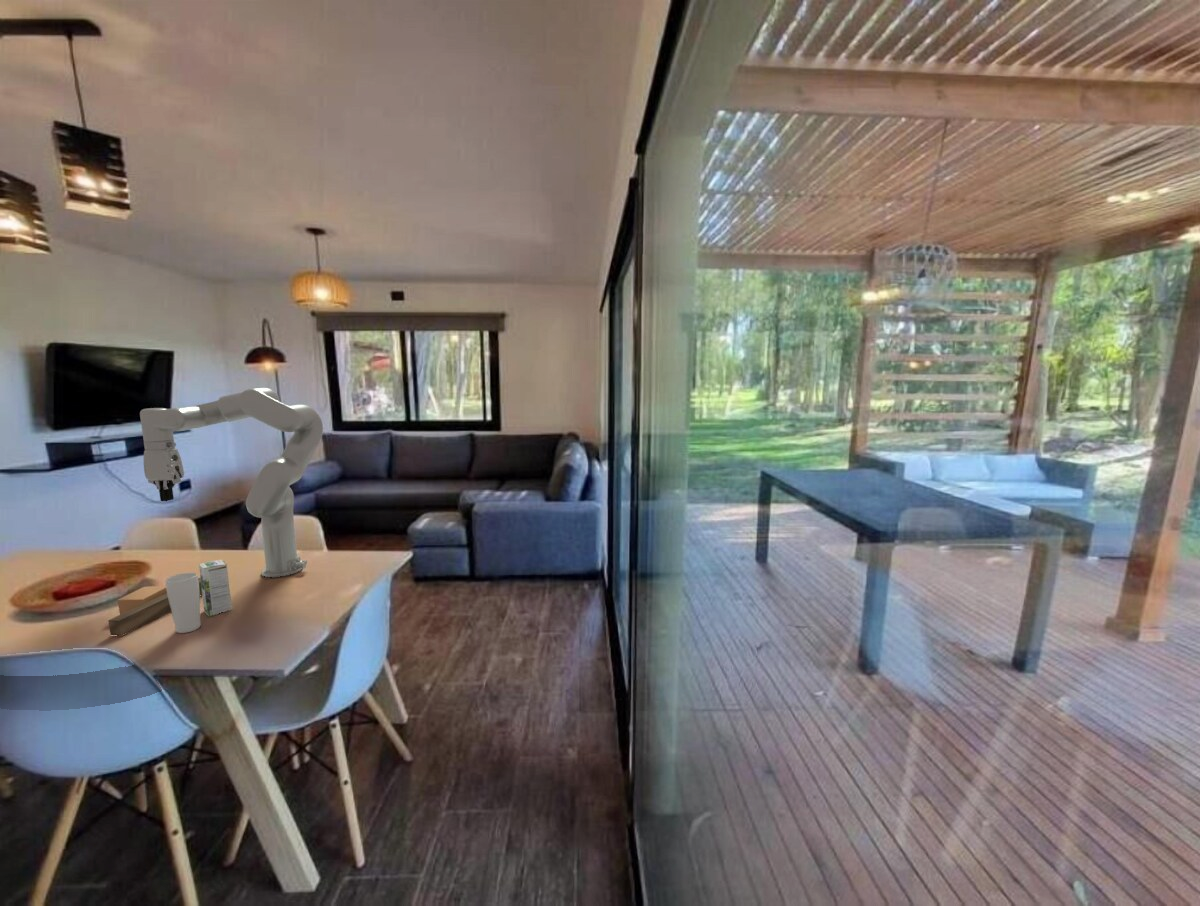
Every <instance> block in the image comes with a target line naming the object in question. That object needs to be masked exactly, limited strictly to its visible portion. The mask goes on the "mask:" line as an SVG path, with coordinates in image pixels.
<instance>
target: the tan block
mask: <svg viewBox="0 0 1200 906" xmlns="http://www.w3.org/2000/svg"><path fill="white" fill-rule="evenodd" d="M166 593H167V591H166V585H164V586H163V585H160V586H159V585H157V586H156V585H155V586H152V585H151V586H143V587H141V588H139V589H137V590H135V591H132V592H131V593H129V594H127V595H124V596H123V597H122V596H121V598H118V599H117V605H118V611H119V615H120V614H123V613H125V612H127V611H129V610H131V609H133V608H136V607H138V606H140V605H142V604H144V603H146V602H148V601H151V600H153V599H155V598H157V597H159V596H161V595H164V594H166Z"/></svg>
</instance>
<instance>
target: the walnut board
mask: <svg viewBox="0 0 1200 906" xmlns="http://www.w3.org/2000/svg"><path fill="white" fill-rule="evenodd" d="M198 581H199V591H200V595H202V587H201V577H198ZM171 612H172V611H171V608H170V604H169V600H168V596H167V593H166V594H164V595H161V596H159V597H157V598H155V599H153V600H151V601H148V602H146V603H144V604H142V605H140V606H138V607H136V608H133V609H131V610H129V611H127V612H125V613H123V614H120V613H119V615H117V616H114V617H112V618H110V619H108V620H107V621H108V627H109V633H110V636H111V635H117V636H116V637H123V636H124V635H123V634H125V633H127V634H129V633H131V632H133V631H135V630H137V629H139V628H141V627H143V626H145V625H146V624H148V623H151V622H152V621H155V620H156V619H158V618H160V617H162V616H164V615H166V614H168V613H171ZM136 628H137V629H136ZM134 629H135V630H134ZM132 630H133V631H132ZM130 631H131V632H130ZM128 632H129V633H128ZM122 635H123V636H122ZM125 635H126V634H125Z"/></svg>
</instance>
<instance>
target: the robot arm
mask: <svg viewBox="0 0 1200 906" xmlns="http://www.w3.org/2000/svg"><path fill="white" fill-rule="evenodd" d="M139 417H140V424H141V431H142V437H143V438H142V439H143V446H144V451H143V471H144V476H145V479H146V480H147V482H148V483H149V484H153V485H155V487H156V489H157V490H158V493H159V500H160V502H168V501H173V500H174V491H173V488H175V485H176V484H180V483H182V480H181V478H184V477H185V472H184V467H183V466H184V465H183V462H182V458H181V454H180V451H179V450H178V449H176V446H177V444H176V442H175V438H174V436H175V435H174V432H181V431H182V432H183V431H188V430H195V429H199V428H204V427H208V426H212V425H217V424H221V423H225V422H226V423H227V422H229V423H231V422H235V421H240V420H243V419H248V418H253V419H255V420H257V421H259V422H261V423H263V424H265V425H267V426H270V427H271V428H274V429H276V430H278V431H279V432H284V433H293V435H292V436H291V437H290V438H289V440H288V442H287V444H286V445H285V448H284V450H283V451H282V453H281V454H280V456H279V457H278V458H276V459H273V460H272V461H269V462H268V463H266V464H265V465H264V466H263V467H262V469H261V470H260V472H259V473H258V475H257V477H256V479H255V481H254V482H253V485H252V487H251V489H250V490H249V493H248V495H247V497H246V499H245V506H246V509H247V510H246V511H247V512H248V513H249V514H250V515H252V516H253V517H256V518H261V521H260V523H261V533H262V545H263V553H264V564H265V567H264V568H262V570H261V571H260V574H261V576H262V577H264V576H265V577H264V578H270V577H272V578H281V577H280V576H282V577H287V576H291V575H293V574H296V573H298V571H299V572H300V571H302V570H303V569H305V568H306V567H307V565H308V560H301V556H300V555H298V550H297V541H296V531H295V530H296V529H295V519H294V506H295V505H294V504H295V496H294V491H293V490H292V488H291V487H290V486H291V485H293V484H295V483H297V482H299V480H301V479H302V477H303V476H304V473H305V471H306V469H307V467H308V465H309V464H310V461H311V460H312V458H313V456H314V454H315V451H316V450H317V448H318V446H319V444H320V441H321V439H322V437H323V431H324V425H323V422H322V421H323V420H322V418H321V417H320V415H319V413H318V412H317V410H315V409H314V408H313V407H311V406H309V405H306V404H292V405H288V404H285V403H283V402H281V401H280V396H279V395H278V393H277V392H276V391H275V390H273V389H271V388H269V387H258V388H257V387H256V388H248V389H245V390H243V391H242V392H237V393H231V394H226V395H223V396H220V397H219V398H218V399H217V400H215V401H211V402H210V401H209V402H206V403H202V404H196V405H192V406H191V405H190V406H189V405H188V406H182V407H181V406H180V407H179V406H178V407H172V408H166V407H165V408H164V407H153V408H152V407H150V408H143V409H141V410H140V412H139ZM301 569H302V570H301ZM290 574H291V575H290ZM286 575H287V576H286Z"/></svg>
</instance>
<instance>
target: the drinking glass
mask: <svg viewBox="0 0 1200 906" xmlns="http://www.w3.org/2000/svg"><path fill="white" fill-rule="evenodd" d="M198 578H199V576H198V573H196V572H183V573H178V574H174V575H172V576H169V577H167V578H166V579H165V586H166V591H167V596H168V600H169V604H170V608H171V611H170V612H171V614H172V619H173V623H174V628H175V632H176V633H179V634H187V633H191V632H194V631H196V630H198V629H200V627H201V623H202V622H201V605H200V604H201V603H200V602H201V601H200V599H201V596H200V591H199V581H198Z"/></svg>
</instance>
